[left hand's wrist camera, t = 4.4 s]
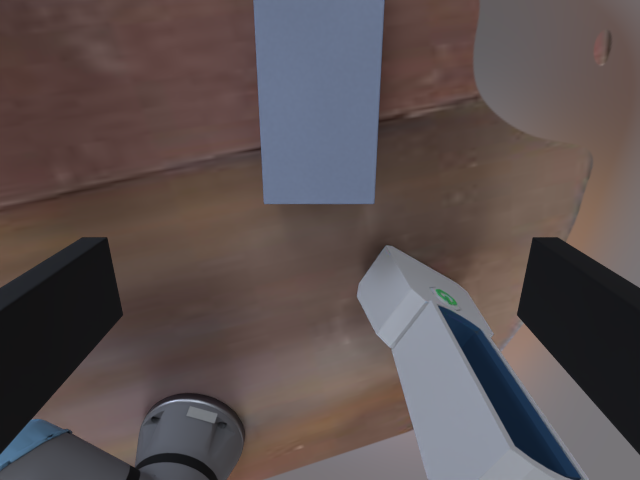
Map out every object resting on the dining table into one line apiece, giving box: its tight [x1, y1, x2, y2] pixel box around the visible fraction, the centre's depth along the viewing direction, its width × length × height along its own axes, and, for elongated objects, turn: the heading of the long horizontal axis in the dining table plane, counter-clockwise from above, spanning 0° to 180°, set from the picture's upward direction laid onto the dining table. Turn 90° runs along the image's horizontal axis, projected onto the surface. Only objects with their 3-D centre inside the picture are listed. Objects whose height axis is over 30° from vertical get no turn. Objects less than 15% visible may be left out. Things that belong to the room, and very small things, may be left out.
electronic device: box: [357, 245, 589, 480], centre depth 37 cm, size 12×8×30 cm, turn 59°
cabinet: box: [254, 0, 385, 204], centre depth 38 cm, size 22×11×9 cm, turn 0°
